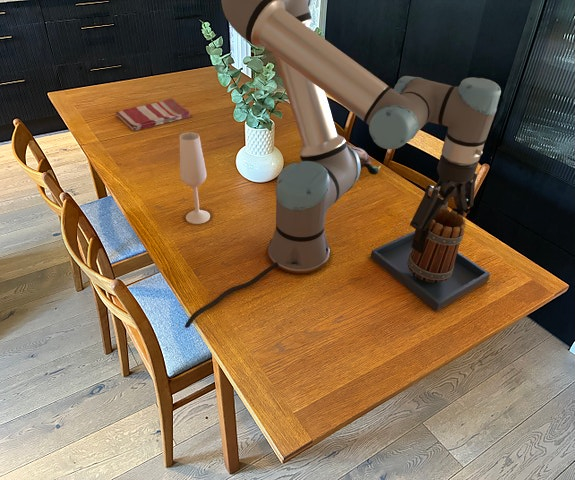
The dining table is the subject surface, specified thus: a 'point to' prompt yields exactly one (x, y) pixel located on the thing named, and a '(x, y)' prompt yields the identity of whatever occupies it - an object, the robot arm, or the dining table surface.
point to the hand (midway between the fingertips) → (434, 241)
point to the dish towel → (153, 114)
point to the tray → (433, 294)
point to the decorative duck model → (365, 160)
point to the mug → (438, 247)
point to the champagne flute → (193, 172)
